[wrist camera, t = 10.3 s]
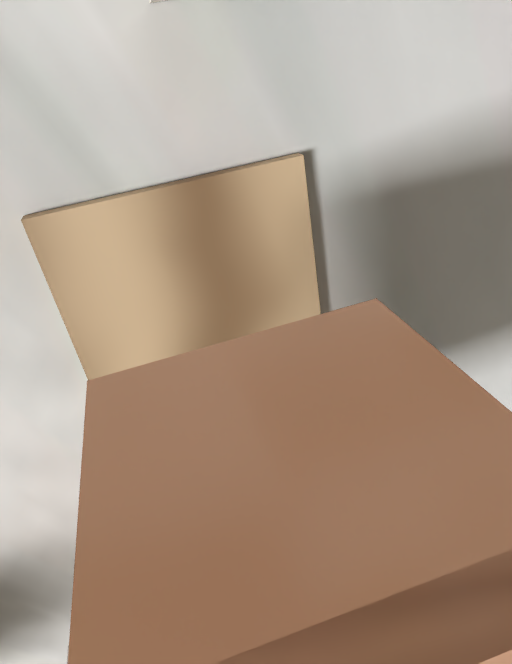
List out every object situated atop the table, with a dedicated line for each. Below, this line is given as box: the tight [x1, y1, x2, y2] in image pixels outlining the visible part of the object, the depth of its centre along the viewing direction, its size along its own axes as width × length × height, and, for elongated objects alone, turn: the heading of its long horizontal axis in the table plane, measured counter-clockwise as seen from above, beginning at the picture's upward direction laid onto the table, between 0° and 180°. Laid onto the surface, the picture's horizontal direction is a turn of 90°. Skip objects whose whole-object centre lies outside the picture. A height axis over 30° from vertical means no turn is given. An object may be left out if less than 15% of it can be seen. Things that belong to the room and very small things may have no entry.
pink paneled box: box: [68, 298, 512, 664], centre depth 9 cm, size 6×9×6 cm, turn 10°
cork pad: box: [21, 153, 321, 380], centre depth 18 cm, size 9×12×1 cm
